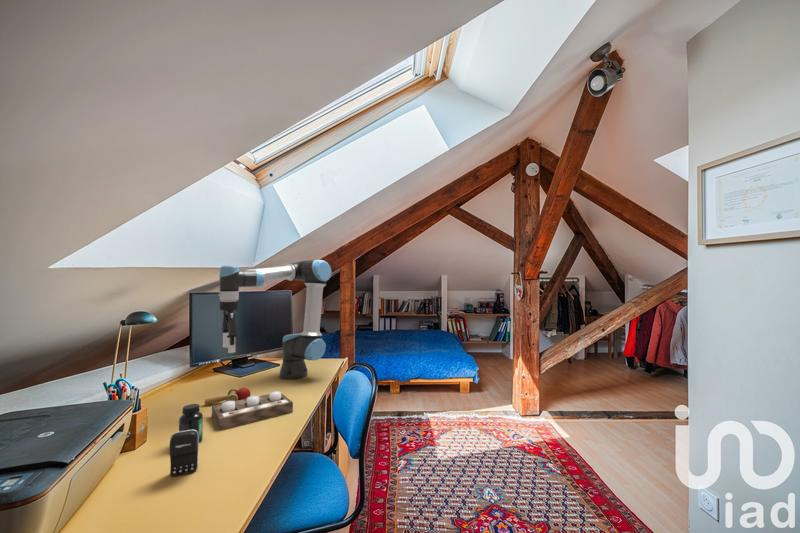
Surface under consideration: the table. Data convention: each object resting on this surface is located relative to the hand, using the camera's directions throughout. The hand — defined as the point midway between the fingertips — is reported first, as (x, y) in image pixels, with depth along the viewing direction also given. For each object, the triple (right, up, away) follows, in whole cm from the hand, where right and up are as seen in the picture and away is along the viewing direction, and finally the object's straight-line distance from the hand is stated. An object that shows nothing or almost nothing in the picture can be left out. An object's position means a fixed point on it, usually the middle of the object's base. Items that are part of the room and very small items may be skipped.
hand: (228, 349), depth 151 cm
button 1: (+8, -21, -16) cm, 28 cm away
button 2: (+22, -21, -5) cm, 31 cm away
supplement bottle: (+4, -23, -34) cm, 41 cm away
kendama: (-1, -24, +2) cm, 24 cm away
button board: (+15, -23, -11) cm, 30 cm away
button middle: (+15, -21, -11) cm, 28 cm away
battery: (+13, -23, -53) cm, 59 cm away
